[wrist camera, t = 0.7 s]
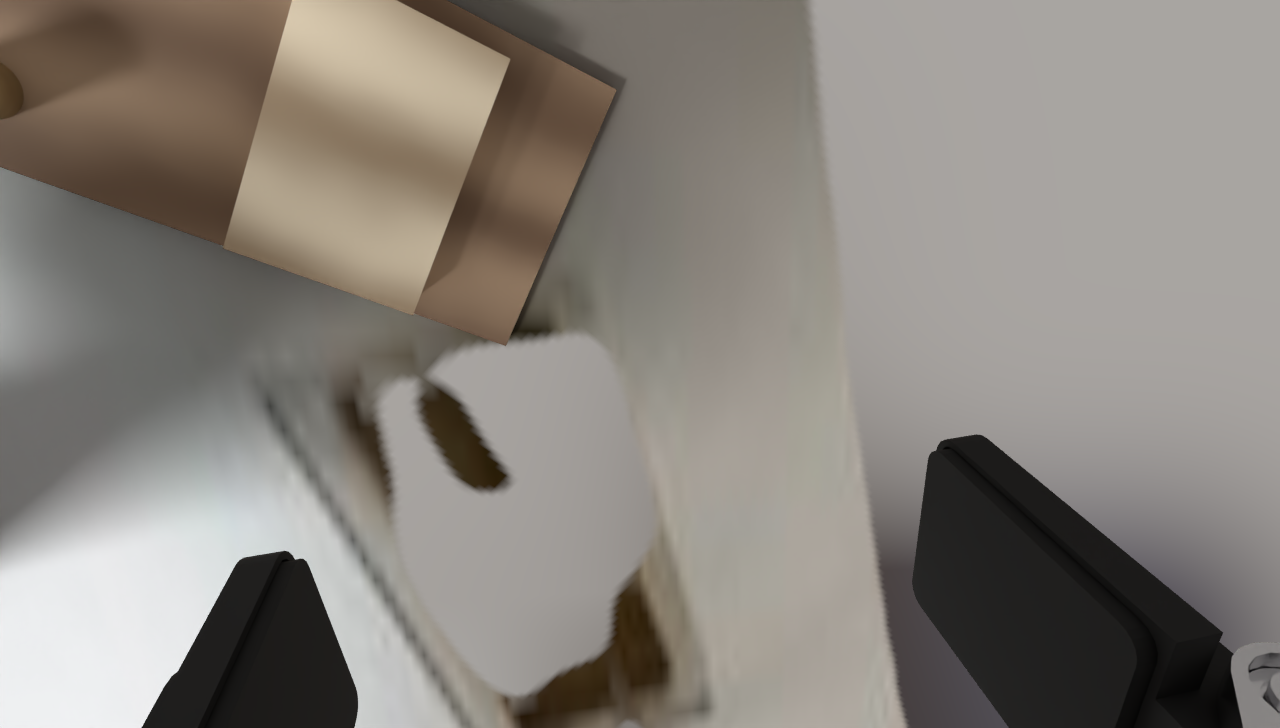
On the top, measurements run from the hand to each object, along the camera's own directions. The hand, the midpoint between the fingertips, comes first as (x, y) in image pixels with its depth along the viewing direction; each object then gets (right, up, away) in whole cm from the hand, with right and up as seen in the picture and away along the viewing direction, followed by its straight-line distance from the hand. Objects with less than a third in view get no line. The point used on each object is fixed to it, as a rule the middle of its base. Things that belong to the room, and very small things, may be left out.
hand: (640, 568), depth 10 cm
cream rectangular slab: (-12, +13, +20) cm, 27 cm away
